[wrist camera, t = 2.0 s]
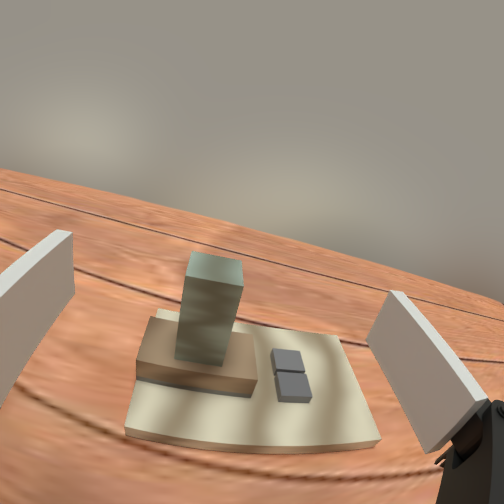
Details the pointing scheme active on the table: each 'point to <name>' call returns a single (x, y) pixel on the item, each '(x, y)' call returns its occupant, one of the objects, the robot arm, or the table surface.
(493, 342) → the table surface
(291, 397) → the mark tile
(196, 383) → the block
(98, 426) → the table surface
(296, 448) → the board
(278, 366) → the mark tile
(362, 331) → the table surface
